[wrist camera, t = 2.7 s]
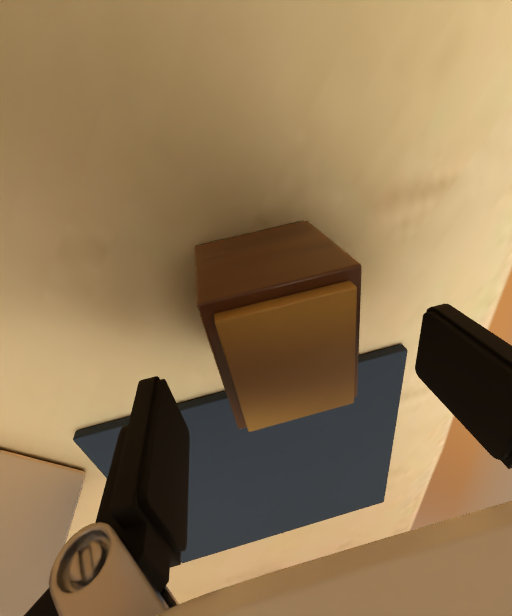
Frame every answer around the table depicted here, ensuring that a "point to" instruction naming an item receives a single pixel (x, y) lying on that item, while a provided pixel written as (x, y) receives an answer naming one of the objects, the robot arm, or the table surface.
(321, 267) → the brown block
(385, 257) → the table surface
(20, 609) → the medicine bottle
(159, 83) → the table surface
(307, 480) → the desk pad
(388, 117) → the table surface
